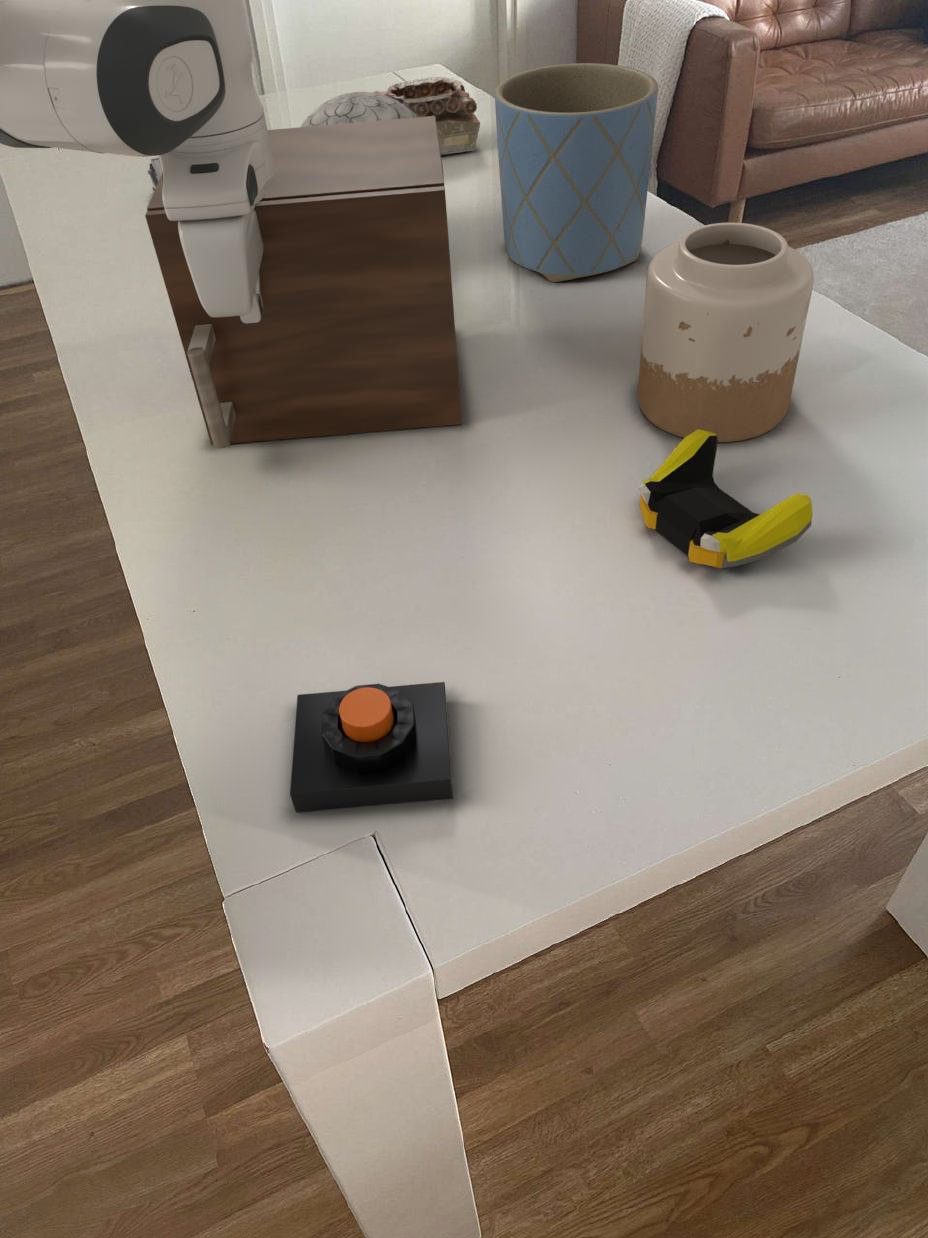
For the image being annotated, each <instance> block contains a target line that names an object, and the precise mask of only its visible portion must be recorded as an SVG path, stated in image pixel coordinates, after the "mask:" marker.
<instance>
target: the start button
mask: <svg viewBox="0 0 928 1238" xmlns="http://www.w3.org/2000/svg"><path fill="white" fill-rule="evenodd" d="M339 713H340V718H341V722H342V726H343V730H344V732H345V734H346V735H347V736H348V737H349V738H351V739H352V740H354V741H357V742H363V743H368V742H374V741H377V740H379V739H381V738H383V737H384V736H386V735H387V734H388V733H389V731H390V730H391V728H392V726H393V722H394V718H393V712H392V706H391V701H390V699H389V697H388V695H387V694H386V693H384V692H383V691H381V690H379V689H376V688H370V687H366V688H360V689H357V690H354V691H352V692H350V693H349V694H347V695H346V696H345V697H344V699H343V700H342V701H341V704H340V707H339Z"/></svg>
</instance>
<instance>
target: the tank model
mask: <svg viewBox="0 0 928 1238" xmlns="http://www.w3.org/2000/svg"><path fill="white" fill-rule="evenodd" d="M372 93H377V94H381V95H384V96H388V97H390V98H392V99H394V100H397V101H398V102H400V103H402V104H403V105H405V106H406V107H408V108H409V109H410V110H411V111H413V112H414V113H415V114H416V115H417V116H418V117H426V116H435V117H436V124H437V132H438V140H439V147H440V155H441V156H443V155H451V154H457V153H465V152H471V151H475V150H476V147H477V141H478V137H479V132H480V128H481V121H480V120H479V119H478V117H477V115H476V114H475V112H477V109H478V104H477V102H476V100H475V99H474V98H472V97H470V93H469V92H466V89H465V86H464V85H463V83H462V82H461V81H460V80H458V79H454V78H451V77H450V78H449V77H447V76H433V77H427V78H420V79H417V78H416V79H412V80H406V81H401V82H398V83H394V84H392V85H390V86H388V88H387V90H385V91H382V90H376V91H373V92H372Z"/></svg>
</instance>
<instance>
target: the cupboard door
mask: <svg viewBox="0 0 928 1238" xmlns="http://www.w3.org/2000/svg"><path fill="white" fill-rule="evenodd" d="M446 197H447V196H446V188H445V185H444V186H438V187H426V188H414V189H402V190H391V191H379V192H367V193H355V194H343V195H331V196H319V197H308V198H296V199H284V200H272V201H260V202H258V203H257V204H255V207H254V210H255V211H256V215H257V220H258V224H259V229H260V233H261V237H262V242H263V255H262V260H261V265H260V269H259V277H260V293H261V298H262V302H263V310H262V315H261V320H260V321H259V322H257V323H244V322H242V321H241V318H240V316H231V317H211V316H209V315H208V313H207V312H206V311H205V309H204V308H203V306H202V304H201V302H200V300H199V297H198V294H197V291H196V288H195V285H194V282H193V279H192V276H191V273H190V270H189V267H188V264H187V261H186V258H185V255H184V251H183V248H182V244H181V241H180V236H179V230H178V221H170V220H169V219H168V218H167V215H166V212H165V210H153V211H146V212H145V216H144V217H145V220H146V224H147V227H148V232H149V234H150V237H151V241H152V244H153V248H154V252H155V255H156V258H157V261H158V266H159V269H160V272H161V276H162V279H163V282H164V286H165V290H166V293H167V296H168V301H169V302H170V307H171V310H172V313H173V318H174V321H175V324H176V327H177V331H178V335H179V338H180V342H181V344H182V348H183V351H184V355H185V358H186V362H187V366H188V369H189V372H190V376H191V379H192V383H193V386H194V391H195V393H196V397H197V400H198V404H199V407H200V410H201V414H202V417H203V421H204V425H205V428H206V432H207V435H208V438H209V442H210V444H211V446H214V447H215V448H216V449H224V448H227V447H229V446H230V444H240V443H251V442H253V443H254V442H263V441H277V440H288V439H289V440H290V439H300V438H301V439H302V438H313V437H325V436H334V435H347V434H359V433H370V432H382V431H393V430H395V431H396V430H405V429H419V428H431V427H442V426H443V427H444V426H453V425H462V424H463V421H462V419H463V418H462V403H461V394H460V393H461V392H460V378H459V365H458V364H459V363H458V351H457V337H456V336H457V335H456V323H455V322H456V321H455V310H454V295H453V294H454V293H453V281H452V269H451V254H450V240H449V239H450V238H449V228H448V227H449V226H448V211H447V198H446Z"/></svg>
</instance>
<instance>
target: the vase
mask: <svg viewBox="0 0 928 1238" xmlns="http://www.w3.org/2000/svg"><path fill="white" fill-rule="evenodd" d="M814 280H815V274H814V270H813V266H812V264H811V262H810V261H809V260H808V259H807V257H806V256H805V255H803V254H802V252H800V251H799V250H797V249H795V248H793V247H791V246H789V244H788V241H787V240H786V239H785V238H784V237H783V235H781V234H780V233H778V232H776V231H775V230H772V229H770V228H768V227H765V226H761V225H758V224H752V223H746V222H718V223H717V222H715V223H710V224H706V225H702V226H701V225H700V226H698V227H696V228H693V229H691V230H689V231H687V232H686V233H685V234H684V235H683V236H682V237H681V238H680V240H679V241H676V242H673V243H671V244H668V245H667V246H665V247H663V248H662V249H660V250H659V251H658V252H657V253H656V254H655V255H654V256H653V257H652V258H651V260H650V261H649V264H648V267H647V271H646V278H645V289H644V301H643V313H642V314H643V315H642V327H641V328H642V329H641V341H640V342H641V343H640V356H639V367H638V380H637V381H638V383H637V403H638V406H639V409H640V411H641V412H642V414H643V415H644V416H645V418H646V419H647V420H648V421H649V422H650V423H652V424H653V425H654V426H656V427H658V428H659V429H660V430H663V431H665V432H666V433H669V434H671V435H674V436H677V437H680V438H683V439H684V438H685V437H686V436H688V435H690V434H691V433H693V432H695V431H696V430H698V429H700V430H704V431H708V432H712V433H715V434H716V435H717V439H718V443H731V442H741V441H745V440H749V439H752V438H756V437H759V436H762V435H764V434H766V433H768V432H769V431H771V430H773V429H775V428H776V427H777V426H778V425H779V424H780V423H781V422H782V421H783V419H784V418H785V416H786V414H787V412H788V410H789V407H790V402H791V398H792V394H793V393H792V391H793V387H794V383H795V379H796V373H797V368H798V363H799V357H800V353H801V348H802V343H803V337H804V334H805V327H806V324H807V318H808V314H809V308H810V303H811V299H812V294H813V293H812V292H813V287H814Z"/></svg>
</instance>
